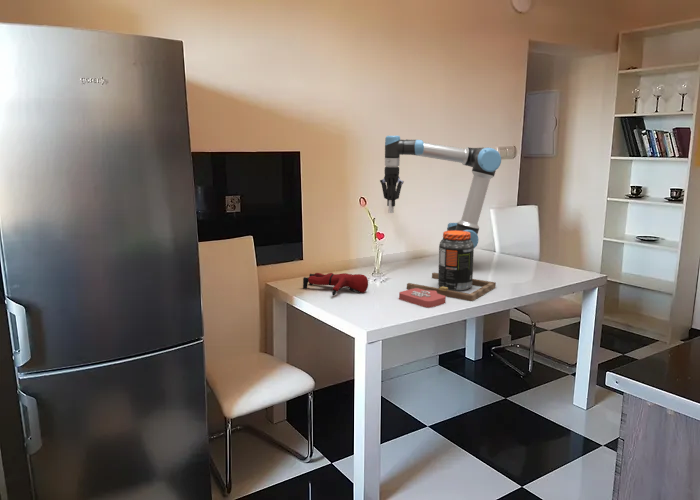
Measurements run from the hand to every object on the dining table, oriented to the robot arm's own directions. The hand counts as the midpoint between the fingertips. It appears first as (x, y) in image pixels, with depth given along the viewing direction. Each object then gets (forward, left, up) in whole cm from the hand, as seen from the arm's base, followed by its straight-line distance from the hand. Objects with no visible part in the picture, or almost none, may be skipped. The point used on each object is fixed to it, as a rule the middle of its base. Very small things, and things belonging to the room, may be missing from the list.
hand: (391, 212), depth 280 cm
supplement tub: (+11, +42, -31) cm, 53 cm away
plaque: (+38, +41, -31) cm, 64 cm away
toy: (+47, 0, -31) cm, 56 cm away
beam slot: (+14, +41, -30) cm, 53 cm away
